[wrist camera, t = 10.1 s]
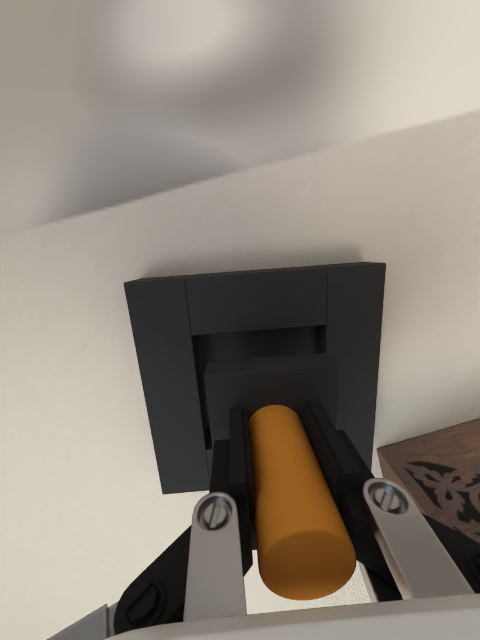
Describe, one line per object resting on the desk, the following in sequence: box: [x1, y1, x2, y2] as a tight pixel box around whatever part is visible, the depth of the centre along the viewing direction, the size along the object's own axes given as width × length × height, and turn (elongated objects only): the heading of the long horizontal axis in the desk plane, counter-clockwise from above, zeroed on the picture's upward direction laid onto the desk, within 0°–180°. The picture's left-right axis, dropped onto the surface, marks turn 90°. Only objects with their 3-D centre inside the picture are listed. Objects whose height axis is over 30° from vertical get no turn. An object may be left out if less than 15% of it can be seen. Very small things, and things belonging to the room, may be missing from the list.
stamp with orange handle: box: [204, 353, 356, 600], centre depth 10 cm, size 6×6×7 cm
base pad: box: [124, 262, 386, 494], centre depth 16 cm, size 14×14×2 cm
